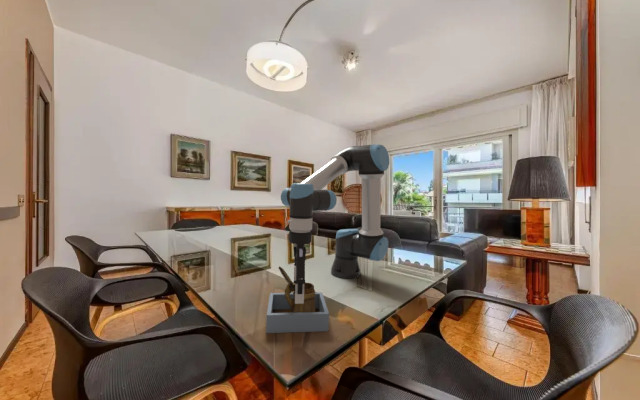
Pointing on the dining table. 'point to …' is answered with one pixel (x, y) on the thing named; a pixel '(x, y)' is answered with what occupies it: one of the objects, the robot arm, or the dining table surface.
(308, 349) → the dining table surface
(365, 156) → the robot arm
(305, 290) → the wooden mug
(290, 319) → the box
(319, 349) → the dining table surface
